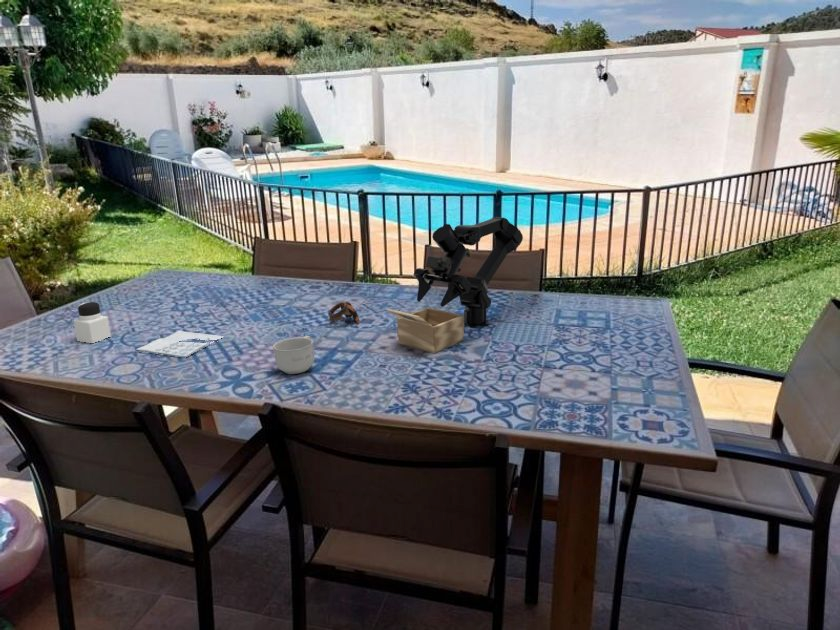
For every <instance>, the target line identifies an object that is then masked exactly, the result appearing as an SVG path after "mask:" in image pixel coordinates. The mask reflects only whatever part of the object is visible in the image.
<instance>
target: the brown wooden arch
mask: <svg viewBox="0 0 840 630" xmlns="http://www.w3.org/2000/svg"><path fill="white" fill-rule="evenodd" d="M339 309H340V310H339ZM338 310H339V311H338ZM336 311H338V312H336ZM335 312H336V313H335ZM327 315H328V317H329V322H330V323H331V324H334V322H338V321H344V319H343V316H345V318H351V317H352V319H353V321H355V322H356V324H357V325H360V317H359V314H358V312H357V310H356V309H355V307H353V305H352V304H351V302H349V301H343V302H339V303H336V304H335V305H334V306H332V307H331V309H329V312H328V313H327Z"/></svg>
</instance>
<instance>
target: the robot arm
mask: <svg viewBox="0 0 840 630" xmlns="http://www.w3.org/2000/svg"><path fill="white" fill-rule="evenodd" d="M488 235H493V236H494V247H493V248H492V250H491V251H490V253H489V254H488V256H487V257H486V259H485V260H484V262H483V263H482V265H481V267H480V268H479V270H478V271H477V272H476V274H475V276H464V275H461V274H457V273H460V272H461V270H462V269H461V268H460V266H461V264H462V263H463V261H464V258H470V256H471V254H470V250H469V248H468V247H465V246H471V247H472V246H475V245H476V244H478V243H479V242H480V241H481V239H482V238H483V237H485V236H488ZM523 237H524V236H523V233H522V232H521V230H520V229H519V228H518V227H517V226H516V225H514V224H512V222H510V221H509V220H508V219H507V218H506V217H502V216H501V217H499V216H494V217H492V218H490V219H487V220H484V221H481V222H478V223H475V224H470V225H469V224H468V225H467V224H461V225H460V224H458V225H456V226H455V227H454V228H453V226H452V225H451V224H450V223H444V224H443V226H441V227H438V228H437V229H436V230H435V231H433V233H432V239H433V242H435V244H436V245H437V246H438V247H439V249H440V250H441V251H442V253H443V252H444V256H442V257H437V256H436V257H435V256H427V258H426V262H425V265H424V266H425V268H421V267H418V268H416V269H415V271H414V272H413V276H414V277H415V280H417V283H418V289H417V298H416V301H417V302H418V303H419V302H421V301H422V300H423V298H424V297H425V296H426V295H427V293H429V290H431V288H432V286H431V285H433V284H434V282H435V283H440V284H445V285H446V284H447V289H446V292H445V294H444V295H443V297H442V299H441V302H440V307H441V308H444V307H445V306H446V305H447V304H449V303H451V302H452V301H454V300H455V299H457V298H458V297H459V300H460V305H461V306H464V311H463V316H464V325H467V326H468V327H470V328H475V327H481V326H482V327H483V326H489V322H487V309H489V308H490V307H491V305H492V299H491V298H490V296H488V294H489V289H488V285H489V283H490V281H492V278H493V277H494V275H495V273H497V271H498V269H499V268H500V266H501V265H502V263H503V262H504V260H505V258H506V257H507V256H508V254H510V253H512V252H514V251H516V250H517V249H518V247H519V246H520V245H521V244H522V242H523V239H524V238H523ZM427 268H429V269H431V272H432V273H433V274H432V273H431V272H430V271H429V270H428V269H427Z"/></svg>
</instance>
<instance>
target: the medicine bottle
mask: <svg viewBox="0 0 840 630" xmlns="http://www.w3.org/2000/svg"><path fill="white" fill-rule="evenodd" d="M77 311H78V317H79V318H77V319H73V326H74V330H75V336H76V341H77V342H79V341H80V343H84V342H86V343H85V344H90V343H94V344H96V343H95V342H97V343H99V342H98V341H100V342H102V341H104V340H103V339H105V338H108V337H111V338H112V333H111V328H110V322H109V316H105V315H102V314H101V309H100V303H98V302H95V301H89V302H83V303H80V304H79V305H78V306H77ZM108 339H109V338H108ZM101 340H102V341H101ZM105 340H106V339H105Z"/></svg>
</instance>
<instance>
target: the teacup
mask: <svg viewBox="0 0 840 630" xmlns="http://www.w3.org/2000/svg"><path fill="white" fill-rule="evenodd" d="M272 349H273V354H274V360H275V364H276V366H277V368H278V369H279V370H280V371H282V372H284V373H285V374H289V375H296V374H302V373H305V372H306V371H308V370H309V369H310V367H311V366H312V365H313V364H314V362H315V350H314V341H313V339H312V337H311V336H309V335H304V336H303V337H301V336H299V337H298V336H297V337H290V338H289V337H288V338H285V339H282V340H278V341H277V342H276V343H273V345H272Z"/></svg>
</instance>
